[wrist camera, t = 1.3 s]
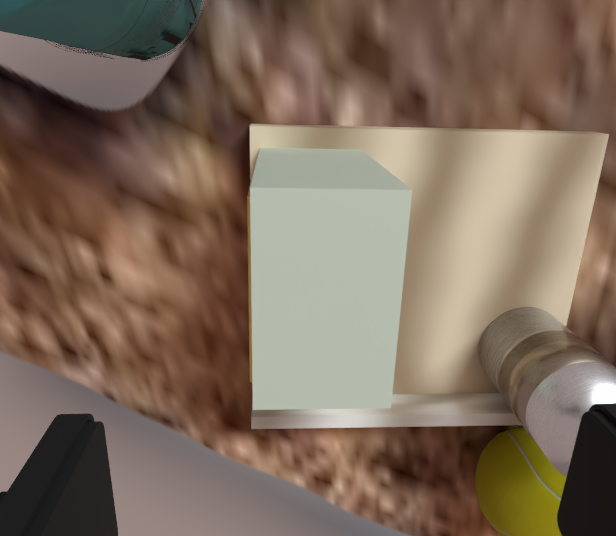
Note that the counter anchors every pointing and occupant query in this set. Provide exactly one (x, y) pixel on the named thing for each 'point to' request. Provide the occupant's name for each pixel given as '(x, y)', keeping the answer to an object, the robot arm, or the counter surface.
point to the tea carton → (324, 278)
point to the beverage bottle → (104, 23)
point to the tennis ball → (518, 486)
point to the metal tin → (545, 377)
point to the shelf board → (462, 255)
